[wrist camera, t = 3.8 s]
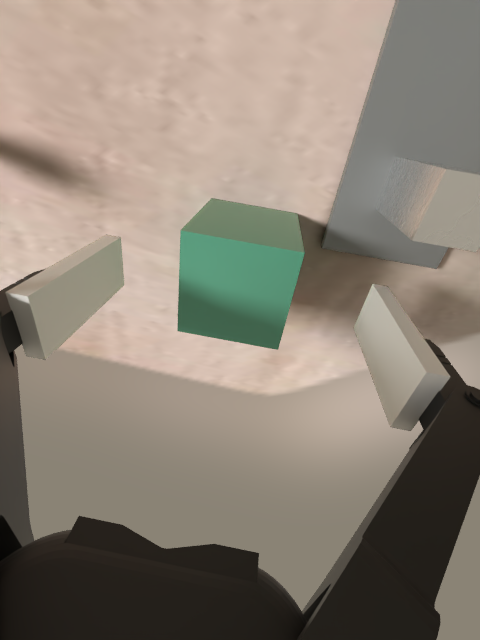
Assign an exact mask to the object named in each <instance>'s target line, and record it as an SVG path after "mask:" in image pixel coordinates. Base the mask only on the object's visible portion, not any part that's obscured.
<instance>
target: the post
mask: <svg viewBox="0 0 480 640" xmlns="http://www.w3.org/2000/svg"><path fill="white" fill-rule="evenodd" d="M376 210H377V211H378V212H380V213H381V214H382V215H383V216H384V217H385V218H387V219H388V220H389V221H390V222H391V223H392V224H393V225H395V226H396V227H397V228H398V229H399V230H400V231H402V232H403V233H404V234H405V235H406V236H407V237H408V238H410V239H411V240H412V241H417V242H422V243H428V244H434V245H439V246H445V247H450V248H456V249H462V250H467V251H473V252H477V251H478V249H479V248H480V173H479V172H474V171H470V170H466V169H461V168H457V167H453V166H448V165H443V164H437V163H432V162H426V161H420V160H414V159H409V158H403V157H397V156H396V157H395V160H394V163H393V165H392V168H391V170H390V173H389V176H388V178H387V181H386V183H385V186H384V188H383V191H382V194H381V196H380V199H379V201H378V204H377V207H376Z"/></svg>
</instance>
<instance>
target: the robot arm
mask: <svg viewBox="0 0 480 640" xmlns="http://www.w3.org/2000/svg"><path fill="white" fill-rule="evenodd" d="M123 286H124V275H123V262H122V249H121V237H116V236H111V235H105V236H103V237H101V238H99V239H98V240H96V241H94V242H92V243H91V244H89V245H87V246H85V247H84V248H82V249H80V250H78V251H77V252H75V253H73V254H71V255H70V256H68V257H66V258H64V259H63V260H61V261H59V262H57V263H56V264H54V265H52V266H50V267H49V268H47V269H44V270H40V271H37V272H34V273H32V274H30V275H28V276H26V277H24V279H21V280H19V281H17V282H16V284H15V283H14V284H12V285H10V286H8V287H6V288H5V289H3V290H1V291H0V640H436V639H437V636H438V631H439V627H440V614H439V613H438V612H437V611H436V610H435V608H434V604H435V600H436V597H437V594H438V591H439V588H440V585H441V583H442V580H443V577H444V574H445V571H446V568H447V566H448V563H449V560H450V557H451V555H452V552H453V549H454V546H455V543H456V540H457V538H458V535H459V532H460V529H461V526H462V523H463V521H464V518H465V515H466V512H467V510H468V507H469V504H470V501H471V498H472V495H473V492H474V490H475V487H476V484H477V481H478V479H479V475H480V390H479V389H477V388H474V387H471V386H468V385H466V383H465V382H464V381H463V379H462V378H461V377H460V375H459V374H458V373H457V371H456V370H455V369H454V367H453V366H452V365H451V363H450V362H449V360H448V359H447V358H445V355H444V354H443V352H442V351H441V350H440V348H439V347H437V346H436V345H435V344H434V343H432V342H431V341H430V340H427V339H424V338H423V336H422V335H421V334H420V332H419V331H418V329H417V328H416V326H415V325H414V324H413V322H412V321H411V319H410V318H409V316H408V315H407V313H406V312H405V311H404V309H403V308H402V306H401V305H400V303H399V302H398V301H397V299H396V298H395V296H394V295H393V293H392V292H391V290H390V289H389V288H388V286H383V285H377V284H372V286H371V289H370V291H369V293H368V296H367V298H366V300H365V303H364V305H363V307H362V309H361V312H360V314H359V316H358V319H357V321H356V323H355V326H354V331H355V333H356V336H357V339H358V341H359V344H360V347H361V350H362V352H363V355H364V358H365V360H366V363H367V366H368V368H369V371H370V374H371V377H372V379H373V382H374V385H375V387H376V390H377V393H378V395H379V398H380V401H381V403H382V406H383V409H384V412H385V414H386V417H387V420H388V422H389V425H390V427H392V428H397V429H402V430H408V431H411V430H412V429H413V428H414V426H415V425H416V424H417V422H418V421H420V423H421V425H422V427H423V429H424V430H423V431H422V432H421V434H420V435H419V436H418V438H417V439H416V440H415V441H414V443H413V444H412V445H411V447H410V450H409V452H408V453H407V455H406V456H405V458H404V459H403V461H402V462H401V464H400V465H399V467H398V468H397V470H396V471H395V473H394V475H393V476H392V478H391V479H390V480H389V482H388V483H387V485H386V487H385V488H384V490H383V491H382V493H381V494H380V496H379V497H378V499H377V500H376V502H375V503H374V505H373V506H372V508H371V509H370V511H369V512H368V514H367V516H366V517H365V519H364V520H363V522H362V523H361V525H360V526H359V528H358V529H357V531H356V532H355V534H354V535H353V537H352V538H351V540H350V542H349V543H348V544H347V546H346V548H345V549H344V551H343V552H342V554H341V555H340V557H339V558H338V560H337V561H336V563H335V564H334V566H333V567H332V569H331V570H330V572H329V573H328V575H327V576H326V578H325V579H324V581H323V582H322V584H321V585H320V587H319V588H318V590H317V591H316V592H315V594H314V595H313V596H312V598H311V599H310V601H309V602H308V603H307V605H306V606H305V608H304V610H303V611H301V610H300V608H299V607H298V605H297V604H296V602H295V601H294V600H293V598H292V597H291V596H290V595H289V593H288V592H287V591H286V590H285V588H283V586H282V585H281V584H280V583H278V582H277V581H276V580H275V579H274V578H273V577H272V576H270V575H269V574H268V573H266V572H265V571H263V570H261V569H259V568H258V557H259V553H256V552H251V551H246V550H241V549H236V548H231V547H226V546H221V545H217V544H210V545H200V546H190V547H181V548H172V549H164V548H161V547H159V546H157V545H155V544H154V543H152V542H151V541H149V540H147V539H146V538H144V537H142V536H140V535H139V534H137V533H135V532H133V531H132V530H130V529H129V528H127V527H125V526H123V525H120V524H115V523H111V522H105V521H101V520H96V519H91V518H86V517H82V516H79V517H78V519H77V521H76V522H75V524H74V526H73V528H72V530H66V531H62V532H58V533H53V534H51V535H48V536H45V537H42V538H40V539H38V540H35V541H34V538H33V534H32V530H31V526H30V520H29V508H28V495H27V482H26V469H25V459H24V458H25V457H24V444H23V432H22V419H21V408H20V407H21V406H20V394H19V381H18V369H17V357H16V354H15V351H14V350H15V349H16V348H17V347H18V346H20V345H21V344H22V345H23V348H24V351H25V354H26V356H28V357H33V358H38V359H43V360H46V359H47V358H48V357H49V356H50V355H51V354H52V353H53V352H54V351H55V350H57V349H58V348H59V347H60V346H61V345H62V344H63V343H64V342H65V341H66V340H67V339H68V338H69V337H70V336H71V335H72V334H73V333H74V332H75V331H76V330H78V329H79V328H80V327H81V326H82V325H83V324H84V323H85V322H86V321H87V320H88V319H89V318H90V317H91V316H92V315H93V314H94V313H95V312H96V311H97V310H98V309H100V308H101V307H102V306H103V305H104V304H105V303H106V302H107V301H108V300H109V299H110V298H111V297H112V296H113V295H114V294H115V293H116V292H117V291H118V290H119V289H120V288H122V287H123Z"/></svg>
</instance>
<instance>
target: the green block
mask: <svg viewBox="0 0 480 640" xmlns="http://www.w3.org/2000/svg"><path fill="white" fill-rule="evenodd" d="M304 254H305V251H304V246H303V240H302V235H301V230H300V225H299V219H298V214H297V213H291V212H286V211H280V210H274V209H269V208H263V207H258V206H252V205H246V204H241V203H235V202H230V201H224V200H218V199H213V198H212V199H211V200H210V201H209V202H208V203H207V204H206V205H205V206H204V207H203V208H202V209H201V210H200V211H199V212H198V213H197V214H196V215H195V216H194V217H193V218H192V219H191V220H190V221H189V222H188V223H187V224H186V225H185V226H184V228H183V229H182V230H181V237H180V269H179V302H178V331H180V332H186V333H191V334H197V335H202V336H207V337H213V338H218V339H223V340H229V341H234V342H240V343H245V344H250V345H256V346H261V347H266V348H272V349H277V350H278V347H279V344H280V340H281V337H282V333H283V330H284V326H285V322H286V319H287V315H288V312H289V308H290V304H291V301H292V297H293V294H294V290H295V286H296V283H297V279H298V276H299V272H300V269H301V265H302V261H303V258H304Z"/></svg>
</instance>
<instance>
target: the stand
mask: <svg viewBox="0 0 480 640" xmlns="http://www.w3.org/2000/svg"><path fill="white" fill-rule="evenodd" d="M396 156H397V157H403V158H409V159H414V160H420V161H426V162H432V163H437V164H443V165H448V166H453V167H457V168H461V169H466V170H470V171H474V172H479V173H480V0H396V2H395V5H394V8H393V11H392V15H391V18H390V21H389V25H388V28H387V31H386V34H385V38H384V41H383V44H382V47H381V51H380V54H379V57H378V60H377V64H376V67H375V70H374V74H373V77H372V80H371V83H370V87H369V90H368V93H367V96H366V100H365V103H364V106H363V109H362V113H361V116H360V119H359V123H358V126H357V129H356V132H355V136H354V139H353V142H352V145H351V149H350V152H349V155H348V158H347V162H346V165H345V168H344V172H343V175H342V178H341V181H340V185H339V188H338V191H337V194H336V198H335V201H334V204H333V207H332V211H331V214H330V217H329V221H328V224H327V227H326V230H325V234H324V237H323V240H322V243H321V247H322V248H323V249H329V250H334V251H340V252H345V253H351V254H356V255H362V256H368V257H373V258H379V259H384V260H390V261H395V262H401V263H406V264H412V265H418V266H423V267H429V268H434V269H437V267H438V266H439V264H440V262H441V260H442V258H443V257H444V255H445V253H446V251H447V249H448V248H449V247H445V246H439V245H434V244H428V243H422V242H417V241H412V240H411V239H410V238H408V237H407V236H406V235H405V234H404V233H403V232H402V231H400V230H399V229H398V228H397V227H396V226H395V225H393V224H392V223H391V222H390V221H389V220H388V219H387V218H385V217H384V216H383V215H382V214H381V213H380V212H378V211H377V210H376V207H377V204H378V201H379V199H380V196H381V194H382V191H383V188H384V186H385V183H386V181H387V178H388V176H389V173H390V170H391V168H392V165H393V163H394V160H395V157H396Z"/></svg>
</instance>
